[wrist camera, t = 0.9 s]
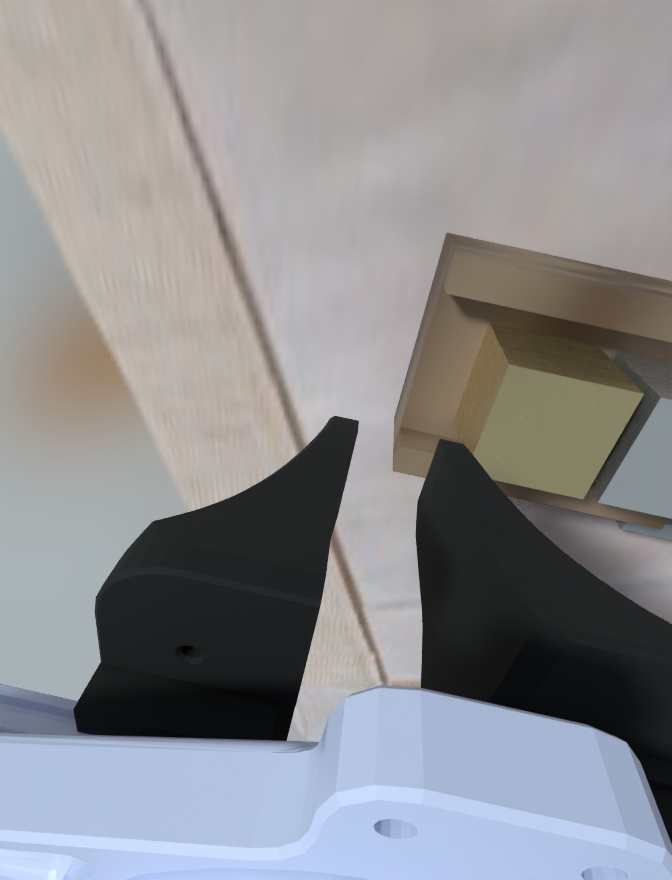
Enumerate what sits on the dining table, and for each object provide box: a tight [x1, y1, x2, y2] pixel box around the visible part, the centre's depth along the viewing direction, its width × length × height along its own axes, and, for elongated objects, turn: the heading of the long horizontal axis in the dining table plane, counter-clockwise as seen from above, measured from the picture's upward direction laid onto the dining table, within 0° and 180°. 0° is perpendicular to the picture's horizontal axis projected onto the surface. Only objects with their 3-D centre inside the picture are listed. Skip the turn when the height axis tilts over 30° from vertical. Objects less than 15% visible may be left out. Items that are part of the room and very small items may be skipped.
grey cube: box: [590, 349, 672, 519], centre depth 17 cm, size 4×4×4 cm
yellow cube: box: [455, 322, 644, 499], centre depth 17 cm, size 4×4×4 cm
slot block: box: [393, 233, 672, 530], centre depth 19 cm, size 11×8×4 cm
